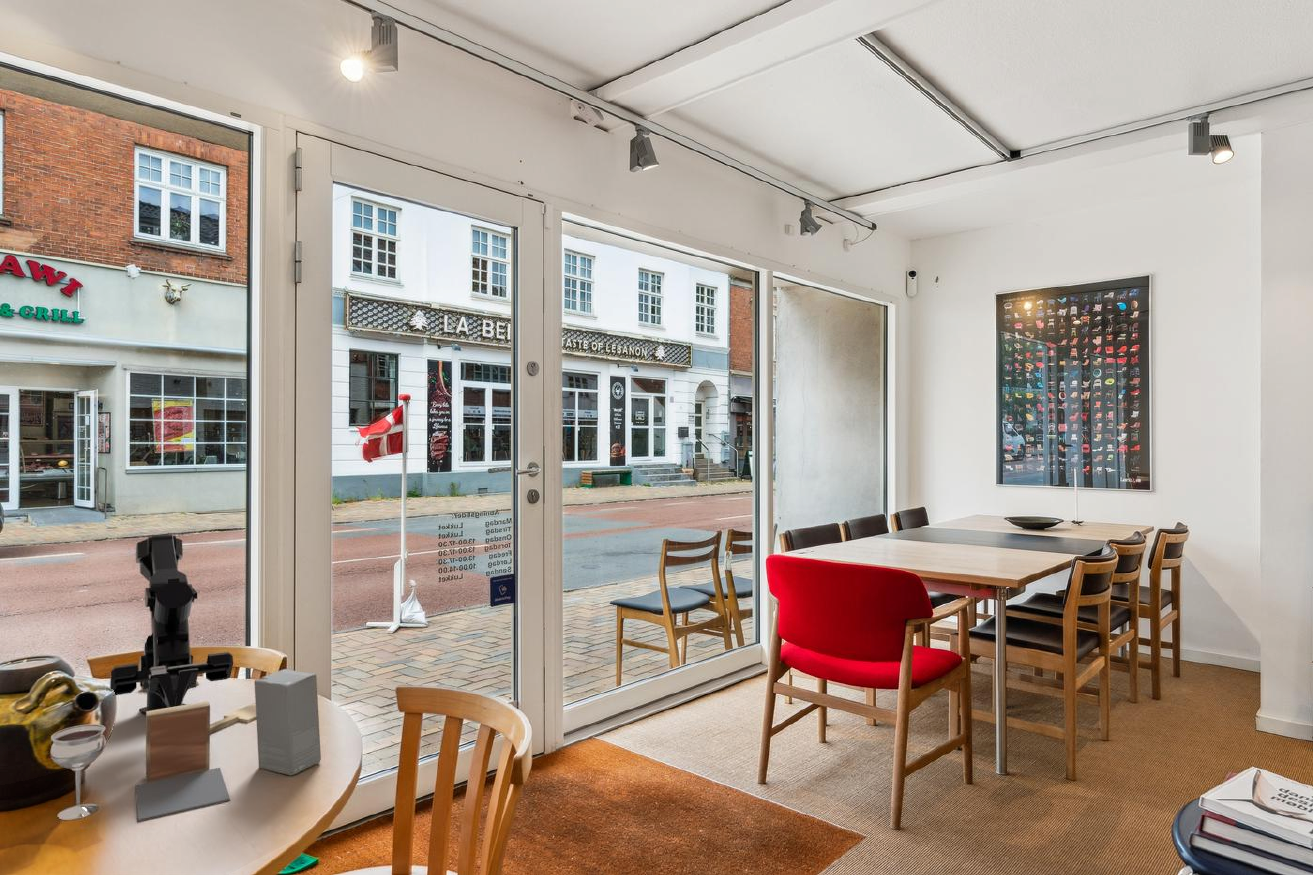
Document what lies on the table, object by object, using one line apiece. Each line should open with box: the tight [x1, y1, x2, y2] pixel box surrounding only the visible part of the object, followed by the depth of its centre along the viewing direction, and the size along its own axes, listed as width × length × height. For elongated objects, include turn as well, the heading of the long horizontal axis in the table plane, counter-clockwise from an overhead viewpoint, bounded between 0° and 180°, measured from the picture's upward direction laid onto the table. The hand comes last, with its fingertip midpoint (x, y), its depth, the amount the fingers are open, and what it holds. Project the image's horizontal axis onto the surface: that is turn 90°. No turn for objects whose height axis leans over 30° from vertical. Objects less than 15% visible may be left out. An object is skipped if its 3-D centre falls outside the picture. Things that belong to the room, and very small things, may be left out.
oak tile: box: [145, 700, 211, 783], centre depth 132 cm, size 3×9×11 cm, turn 125°
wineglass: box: [50, 723, 107, 821], centre depth 119 cm, size 7×7×12 cm
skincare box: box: [253, 668, 322, 777], centre depth 135 cm, size 8×7×16 cm
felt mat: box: [135, 767, 231, 822], centre depth 125 cm, size 13×12×1 cm
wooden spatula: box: [210, 702, 256, 734], centre depth 154 cm, size 18×6×1 cm, turn 162°
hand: (175, 716), depth 138 cm, fingers closed
